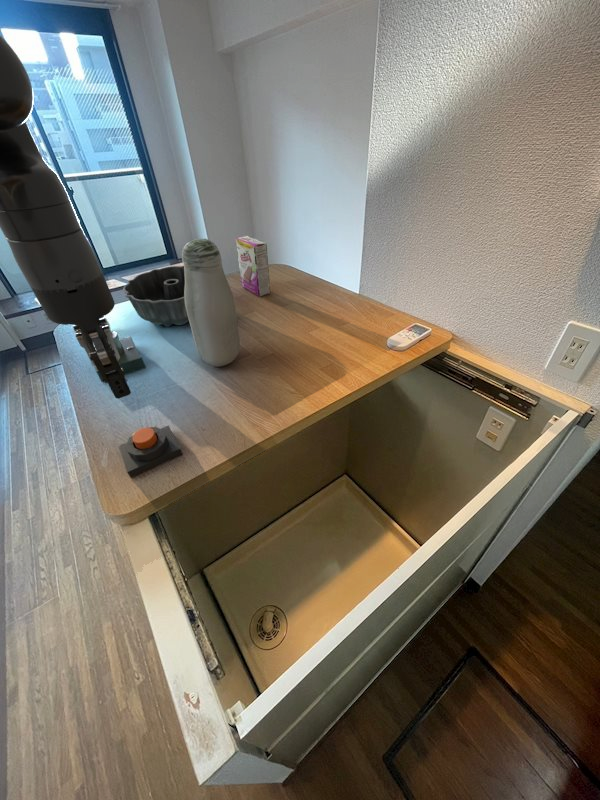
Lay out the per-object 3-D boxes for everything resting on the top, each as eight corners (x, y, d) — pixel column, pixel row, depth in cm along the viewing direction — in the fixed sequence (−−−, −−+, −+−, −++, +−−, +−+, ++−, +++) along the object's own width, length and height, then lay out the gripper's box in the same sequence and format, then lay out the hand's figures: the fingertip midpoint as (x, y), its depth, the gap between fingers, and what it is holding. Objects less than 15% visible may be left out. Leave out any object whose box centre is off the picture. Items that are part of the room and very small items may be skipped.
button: (138, 452, 55) (134, 446, 54) (133, 439, 57) (129, 432, 56) (159, 443, 57) (156, 436, 55) (154, 431, 59) (151, 424, 58)
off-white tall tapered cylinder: (226, 377, 76) (201, 251, 57) (192, 366, 79) (158, 244, 61) (250, 356, 83) (234, 237, 64) (217, 346, 86) (193, 231, 68)
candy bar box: (241, 287, 115) (234, 237, 105) (252, 284, 118) (247, 235, 107) (259, 297, 109) (254, 245, 98) (271, 293, 111) (267, 242, 101)
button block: (130, 478, 55) (123, 465, 53) (121, 451, 59) (114, 439, 57) (182, 454, 59) (177, 441, 56) (170, 431, 63) (165, 418, 61)
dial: (122, 345, 81) (114, 328, 78) (126, 353, 78) (118, 336, 75) (103, 351, 79) (94, 333, 76) (106, 359, 77) (97, 342, 74)
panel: (146, 367, 79) (141, 356, 77) (101, 382, 75) (95, 371, 73) (134, 346, 87) (130, 335, 85) (93, 358, 83) (87, 347, 81)
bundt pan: (182, 342, 88) (172, 308, 81) (115, 322, 97) (101, 289, 90) (239, 304, 105) (235, 273, 99) (177, 290, 115) (170, 260, 108)
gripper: (25, 264, 41) (87, 375, 52) (30, 304, 32) (102, 427, 43) (91, 252, 44) (135, 359, 55) (111, 286, 35) (159, 405, 46)
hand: (121, 388), depth 49 cm, fingers open, 3 cm apart
